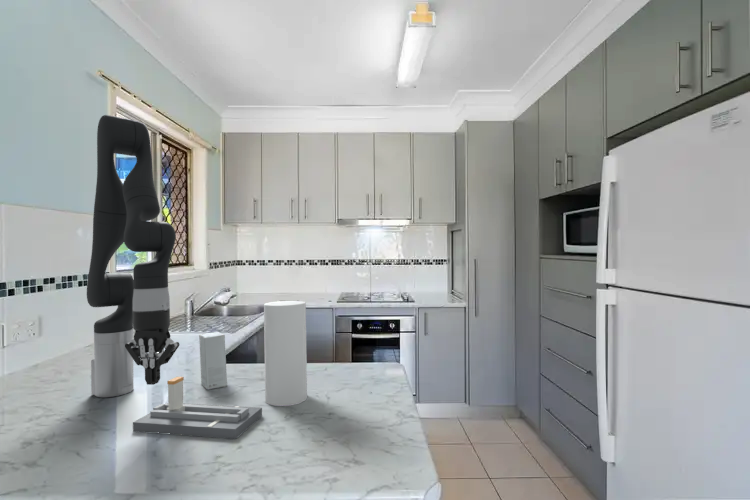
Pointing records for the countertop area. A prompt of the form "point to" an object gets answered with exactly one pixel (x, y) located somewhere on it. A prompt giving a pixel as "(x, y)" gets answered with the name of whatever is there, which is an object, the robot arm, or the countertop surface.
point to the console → (199, 420)
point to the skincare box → (213, 360)
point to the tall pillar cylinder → (285, 352)
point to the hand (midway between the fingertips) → (152, 383)
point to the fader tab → (175, 394)
